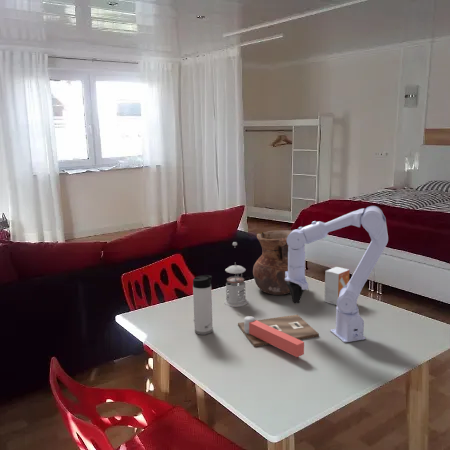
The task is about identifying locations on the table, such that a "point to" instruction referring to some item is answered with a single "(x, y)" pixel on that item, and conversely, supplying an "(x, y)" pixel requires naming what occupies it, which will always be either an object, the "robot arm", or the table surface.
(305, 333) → the label board
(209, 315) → the travel mug
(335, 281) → the small box
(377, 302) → the table surface
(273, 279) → the jug
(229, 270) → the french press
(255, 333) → the swing arm
